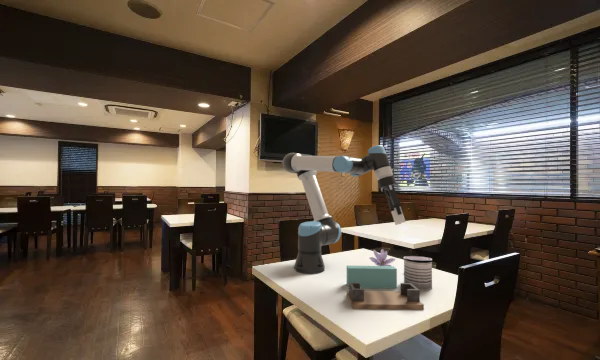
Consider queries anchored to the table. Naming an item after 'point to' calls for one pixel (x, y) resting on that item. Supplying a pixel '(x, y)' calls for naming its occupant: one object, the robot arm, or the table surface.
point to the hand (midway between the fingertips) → (400, 223)
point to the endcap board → (385, 298)
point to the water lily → (381, 258)
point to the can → (418, 272)
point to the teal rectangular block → (372, 276)
